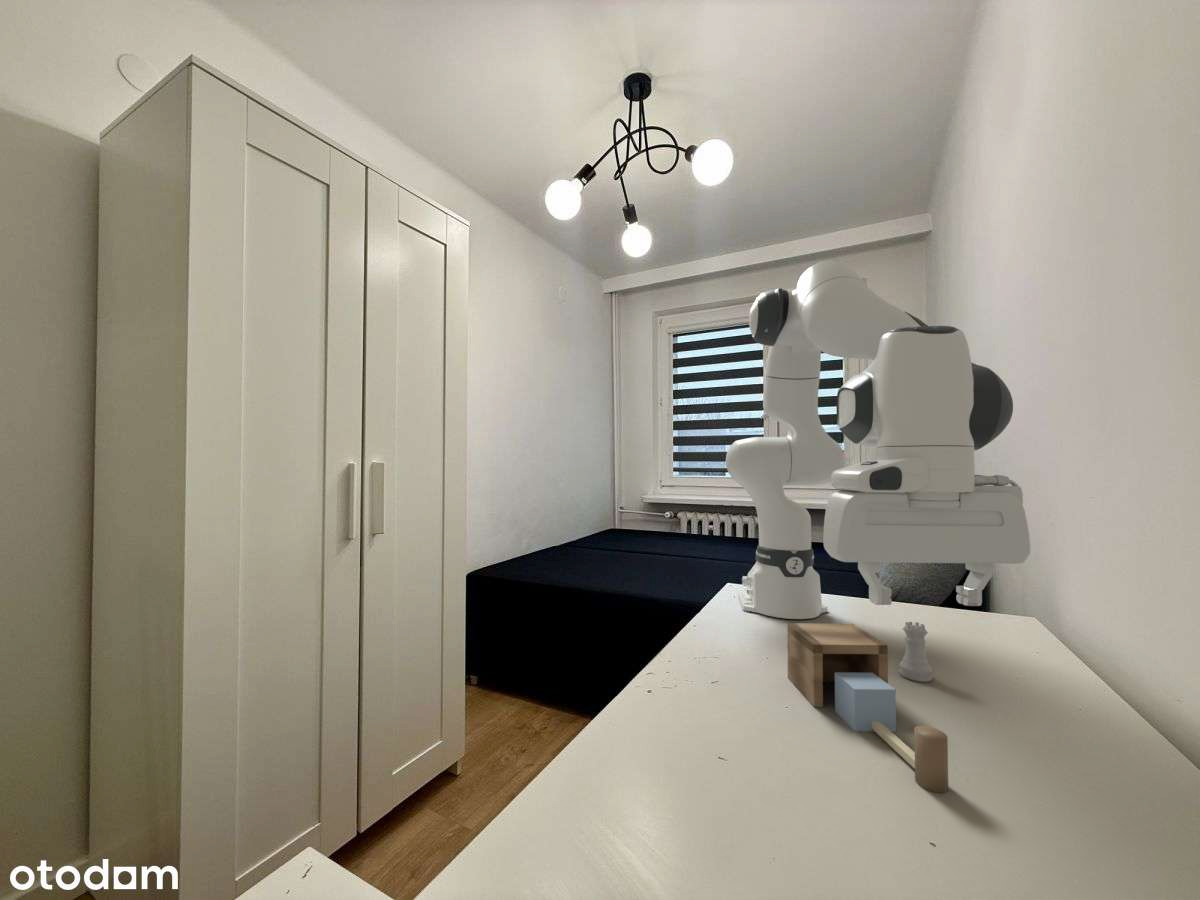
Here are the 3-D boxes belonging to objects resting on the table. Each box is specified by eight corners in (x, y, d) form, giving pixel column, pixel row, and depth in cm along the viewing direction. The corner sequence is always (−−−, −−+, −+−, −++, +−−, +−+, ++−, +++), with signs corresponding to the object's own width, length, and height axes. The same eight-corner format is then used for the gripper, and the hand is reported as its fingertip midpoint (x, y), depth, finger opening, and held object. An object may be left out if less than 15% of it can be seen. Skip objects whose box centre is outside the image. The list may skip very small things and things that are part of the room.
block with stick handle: (835, 711, 65) (834, 672, 65) (873, 711, 65) (872, 672, 65) (915, 792, 48) (914, 740, 49) (966, 793, 48) (965, 740, 49)
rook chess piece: (938, 684, 73) (938, 629, 73) (905, 681, 74) (904, 627, 74) (925, 672, 78) (924, 620, 78) (894, 669, 78) (893, 618, 79)
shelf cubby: (787, 677, 75) (787, 623, 75) (852, 678, 75) (852, 623, 75) (813, 706, 66) (813, 644, 66) (888, 707, 66) (887, 645, 66)
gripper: (997, 474, 56) (998, 597, 56) (816, 473, 56) (817, 595, 56) (1046, 476, 50) (1049, 614, 50) (843, 474, 50) (844, 612, 50)
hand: (924, 604), depth 53 cm, fingers open, 8 cm apart
